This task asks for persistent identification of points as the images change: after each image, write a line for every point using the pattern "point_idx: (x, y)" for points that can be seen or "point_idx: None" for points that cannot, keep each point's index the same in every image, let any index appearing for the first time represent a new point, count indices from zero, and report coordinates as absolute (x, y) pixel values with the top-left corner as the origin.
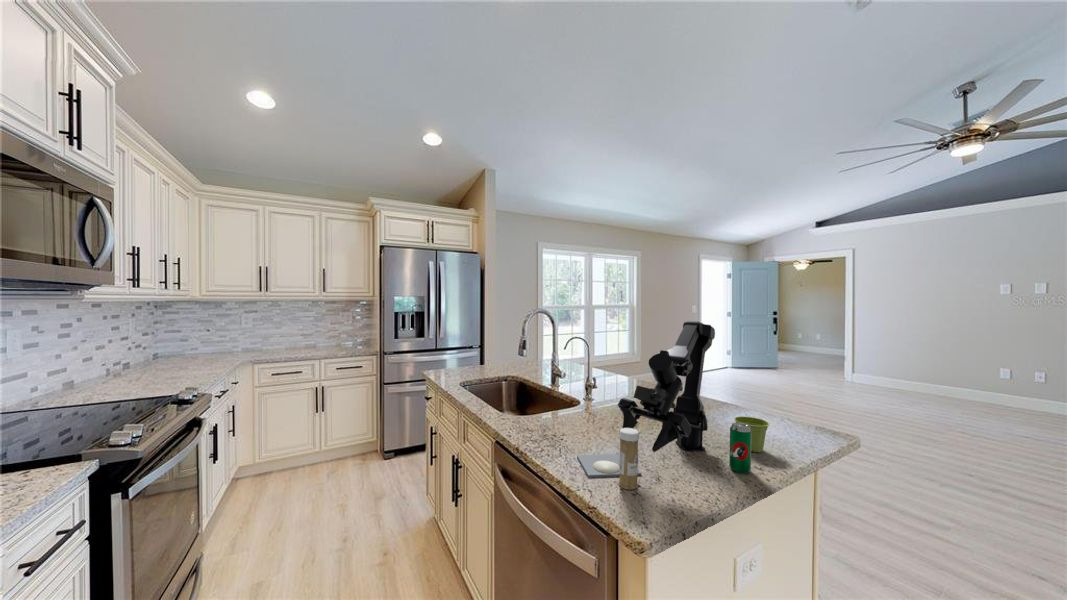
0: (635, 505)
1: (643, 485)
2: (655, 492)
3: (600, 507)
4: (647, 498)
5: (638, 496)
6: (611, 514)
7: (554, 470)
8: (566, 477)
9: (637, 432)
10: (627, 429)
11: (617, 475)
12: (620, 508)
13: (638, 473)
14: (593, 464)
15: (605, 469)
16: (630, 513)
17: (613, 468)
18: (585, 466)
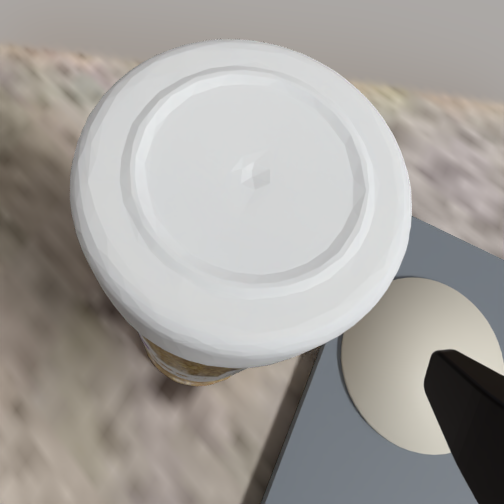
0: (34, 206)
1: (152, 420)
2: (48, 420)
3: (127, 68)
4: (36, 317)
5: (83, 289)
6: (56, 66)
7: (498, 122)
8: (417, 123)
9: (94, 227)
10: (313, 189)
11: (318, 357)
12: (64, 129)
13: (266, 502)
14: (474, 307)
15: (393, 325)
16: (4, 135)
17: (384, 380)
18: (472, 255)
